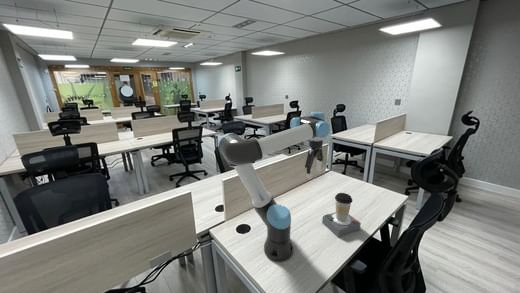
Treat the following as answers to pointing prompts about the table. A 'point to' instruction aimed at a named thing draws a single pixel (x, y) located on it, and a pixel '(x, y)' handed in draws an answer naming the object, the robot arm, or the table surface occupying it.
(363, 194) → the table surface
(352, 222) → the grey dome button box
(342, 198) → the coffee cup
